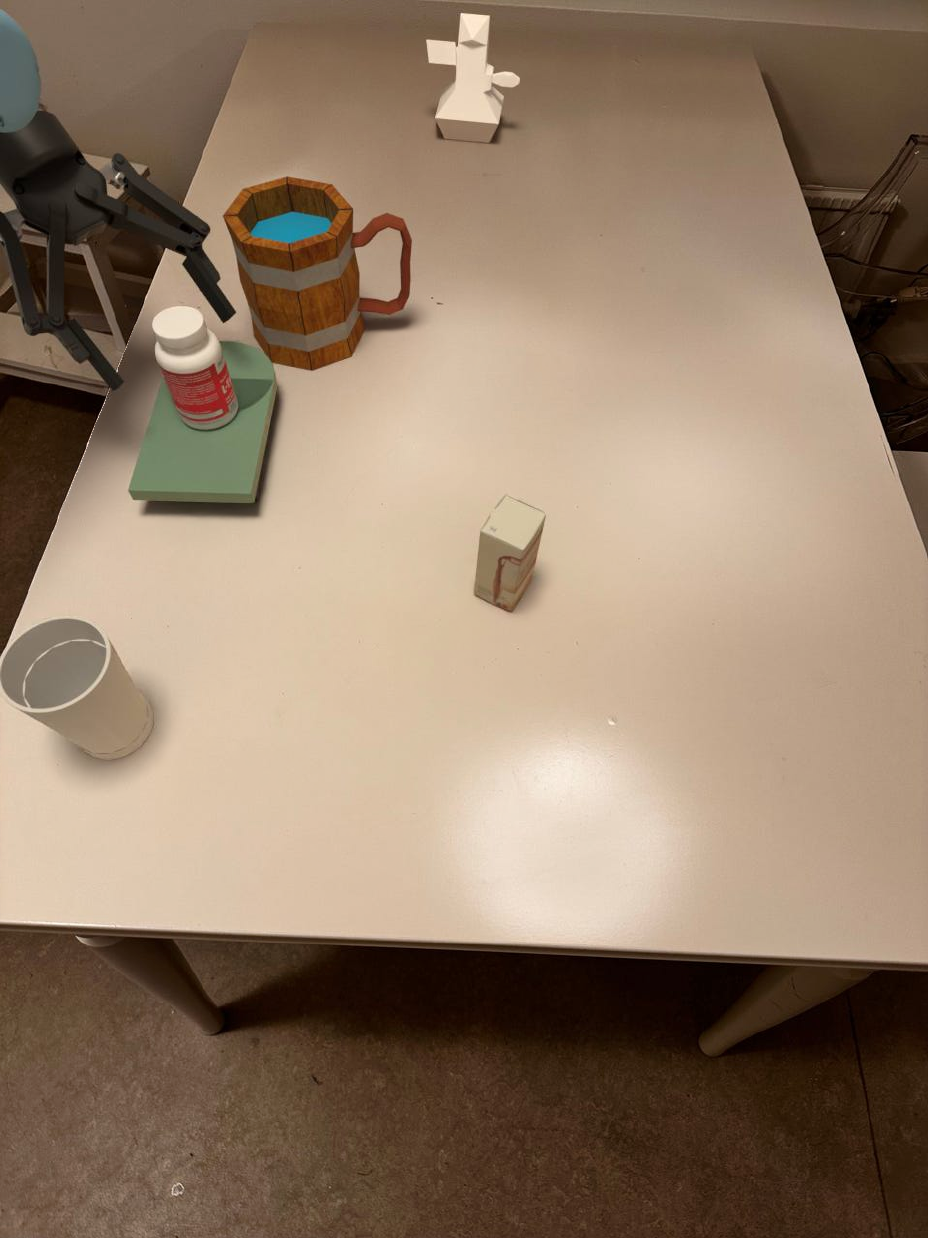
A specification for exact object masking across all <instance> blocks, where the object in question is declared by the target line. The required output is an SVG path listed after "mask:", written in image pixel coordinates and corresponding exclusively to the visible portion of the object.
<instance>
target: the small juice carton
mask: <svg viewBox="0 0 928 1238" xmlns="http://www.w3.org/2000/svg"><path fill="white" fill-rule="evenodd" d="M546 518H547V512H546V511H544V510H543V509H540V508H539V507H536V506H535V505H532V504H530V503H528V502H526V501H523V500H522V499H520V498H517V497H515V496H513V495H511V494H508V493H504V494H503V496H502V497H501V499H499V501H498V502H497V504H496V505H495V506H494V508H493V510H492V511H491V512H490V513H489V515H488V517H487V518H486V520H485V522H484V523H483V525H482V527H481V528H480V530H479V539H478V549H477V559H476V560H477V561H476V568H475V576H474V577H475V579H474V586H473V587H474V588H473V589H474V590H473V594H474V595H475V596H477V597H479V598H481V599H483V600H485V601H487V602H489V603H490V604H492V605H495V606H496V607H498V608H501V609H503V610H505V611H508V612H512V611H514V609H515V608H516V606H517V605H518V603H519V601H520V600H521V598H522V597H523V595H524V593H525V592H526V589H527V588H528V586H529V585H530V583H531V581H532V579H533V577H534V576H533V575H534V572H535V568H536V567H535V566H536V563H537V558H538V553H539V548H540V545H541V542H542V541H541V540H542V536H543V530H544V527H545V522H546Z"/></svg>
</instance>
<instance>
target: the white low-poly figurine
mask: <svg viewBox="0 0 928 1238" xmlns="http://www.w3.org/2000/svg"><path fill="white" fill-rule="evenodd" d="M490 21H491V15H487V14H486V15H484V14H474V13H463V12H461V13H460V17H459V28H458V29H459V30H458V41H457V45H456V41H447V40H438V39H426V50H427V56H428V63H429V64H437V65H449V66H455V71H456V73H455V80H454V81H452V82H451V83H450V84H449V85H448V86H446V87H445V88H444V89H443V90H442V91H441V94H440V98H439V101H438V106H437V109H436V112H435V116H434V119H435V121H436V124H437V125H438V128H439V130H440V133H441V134H442V136H443V139H445V140H452V141H453V140H454V141H462V142H463V141H464V142H473V143H486V144H490V143H491V141H492V139H493V136H494V134H495V132H496V130H497V128H498V126H499V124H500V119H501V115H502V110H503V109H502V108H503V105H504V98H505V95H503V94H502V93H501V92H500V91H498V89H496V88H495V87H494V86H493V84H494V85H497V86H499V87H503V88H504V87H505V88H515V87H516V86H518V85H520V81H521V80H520V79H521V78H520V77H519V76H518V75H517V74H515V73H514V72H512V71H500V72H496V73H494V71H495V70H494V69H495V68H494V66H493V65H491V64H490V63H488V60H489V58H488V57H489V49H490V48H489V47H490V36H491V35H490V32H491V31H490V30H491V25H490V24H491V22H490Z"/></svg>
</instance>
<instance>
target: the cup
mask: <svg viewBox="0 0 928 1238" xmlns="http://www.w3.org/2000/svg"><path fill="white" fill-rule="evenodd" d="M0 696H1V697H2V698H3V700H4V701H5V702H6V703H7V704H8V705H10V706H12V707H13V708H15V709H16V710H18V711H20V712H21V713H23V714H25V715H27V716H29V717H30V718H32V719H34V720H35V721H37V722H39V723H41V724H43V725H44V726H46V727H47V728H49V729H51V730H52V731H54V732H56V733H57V734H59V736H62V737H63V738H65V739H66V740H68V741H70V742H71V743H73V744H74V745H76V746H78V747H79V748H81V749H82V750H83V751H84V752H85V753H86V754H88V755H89V756H91V757H93V758H95V759H99V760H103V761H104V760H105V761H110V760H111V761H112V760H118V759H121V758H125V757H126V756H129V755H131V754H132V753H134V752H135V751H137V750H138V749H139V748H140V747H141V746H142V745H143V744H144V743H145V742H146V741H147V739H148V738H149V736H150V734H151V732H152V729H153V726H154V718H155V717H154V710H153V707H152V705H151V704H150V702H149V701H148V700H147V699H146V697H144V695H143V694H142V693H141V691H140V690H139V687H138V686H137V685H136V683H135V682H134V680H133V678H132V677H131V675H130V673H129V672H128V670H127V669H126V667H125V665H124V664H123V661H122V660H121V658H120V655H119V653H118V652H117V650H116V648H115V647H114V645H113V643H112V641H111V640H110V637H109V636H108V634H107V633H106V631H105V630H104V629H103V628H102V626H100V625H99V624H98V623H96V622H95V621H94V620H91V619H90V618H87V617H84V616H79V615H71V614H64V615H55V616H51V617H47V618H44V619H40V620H39V621H37V622H34V623H32V624H31V625H29V626H27V627H25V628H24V629H22V630H21V631H20V632H19V633H17V634H16V635H15V636H14V637H13V638H12V639H11V641H10V642H9V643H8V644H7V646H5V648H4V649H3V651H2V653H1V654H0Z"/></svg>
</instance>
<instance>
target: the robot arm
mask: <svg viewBox="0 0 928 1238" xmlns="http://www.w3.org/2000/svg"><path fill="white" fill-rule="evenodd" d="M48 107H49V106H48V102H47V101H46V100H45V98H44V97H43V96H42V78H41V75H40V68H39V65H38V58H37V56H36V53H35V50H34V48H33V45H32V43H31V41H30V39H29V37H28V36H27V35H26V33H25V31H24V30H23V28H22V27H21V26H20V24H18V22H17V21H16V20H15V19H14V18H13V17H12V16H10V15H9V14H8V13H7V12H6V11H5V10H3V9H1V8H0V186H1V187H2V188H3V190H4V192H6V194H7V196H9V198H10V199H11V200H12V201H13V204H14V205H15V207H16V208H15V209H12V210H8V211H5V212H3V211H1V210H0V247H1V249H2V250H3V254H4V258H5V261H6V265H7V270H8V273H9V277H10V280H11V285H12V288H13V289H12V290H13V292H14V296H15V300H16V303H17V308H18V312H19V315H20V319H21V324H22V327H23V331H24V333H25V334H27V335H28V336H30V337H35V336H37V335H40V334H50V335H52V336H54V337H55V338H56V339H57V341H58V342H59V343H60V344H61V345H62V347H63V348H64V349H65V350H66V352H67V353H68V354H69V355H70V356H71V358H72V359H73V360H74V361H75V362H76V363H78V364H79V365H82V364H83V363H84V362H86V361H88V363H89V364H90V365H91V366H92V368H93V369H94V370H95V371H96V372H97V374H98V375H99V376H100V378H101V379H102V380H103V381H104V383H105V384H106V385H107V386H108V387H109V389H110V390H111V391H112V392H113V393H114V392H116V391H117V390H119V389H120V388H121V387H122V385H123V384H124V383H125V381H124V379H123V378H122V377H121V376H120V374H119V373H118V372H117V371H116V369H115V368H114V367H113V365H112V364H111V363H110V361H108V358H106V356H105V355H104V353H103V352H102V351H101V350H100V349H99V347H98V346H97V345H96V344H95V343H94V341H93V340H92V338H91V337H90V336H89V335H88V333H87V332H86V331H85V330H84V328H83V327H82V326H81V325H80V323H79V322H78V321H77V319H76V318H72V319H71V320H69V321H67V322H66V321H65V249H66V245H73V246H74V247H76V246H78V245H80V244H82V243H83V242H84V241H85V240H86V239H87V238H88V237H93V236H94V237H95V236H98V235H99V234H101V233H103V232H104V230H105V229H106V227H107V226H108V227H110V228H112V229H114V230H118V231H119V230H122V231H125V232H127V233H129V234H132V235H134V236H137V237H138V238H141V239H143V240H145V241H148V242H150V243H152V244H154V245H155V244H156V245H158V246H160V247H162V248H165V249H167V250H169V251H172V252H174V253H177V254H179V255H181V256H184V257H185V259H184V260H183V262H182V263H181V265H182V266H183V268H184V270H185V271H186V272H187V274H188V275H189V277H190V278H191V280H192V281H193V282H194V284H195V286H196V287H197V288H198V289H199V292H201V294H202V295H203V297H204V298H205V299H206V301H207V302H208V304H209V305H210V307H211V308H212V309H213V311H214V313H215V314H216V315H217V317H218V318H219V319H220V321H221V323H222V324H225V323H227V322H228V321H230V320H231V319H232V318H233V317H234V316H235V315H236V314H237V311H236V309H235V308H234V306H233V305H232V303H231V302H230V301H229V299H228V297H227V296H226V295H225V293H224V292H223V290H222V289H221V287H220V286H219V284H218V283H219V282H220V281H221V275H220V272H219V271H218V269H217V267H215V265H214V263H213V262H212V261H211V259H210V257H209V256H208V255H207V253H206V252H205V250H204V247H203V243H204V241H205V240H206V239H207V237H208V236H209V235H210V233H211V227H210V225H209V224H208V223H207V222H206V221H204V220H203V219H202V218H200V216H198V215H196V214H195V213H193V212H192V211H191V210H190V209H188V208H187V207H185V206H184V205H182V203H179V202H178V201H177V200H175V199H174V198H173V197H171V196H170V195H168V194H167V193H166V192H164V191H163V190H161V189H160V188H159V187H157V186H156V185H155V184H154V183H152V182H151V181H149V180H147V178H145V177H144V176H143V175H141V174H139V172H137V170H136V169H135V168H134V167H133V165H132V164H131V163H130V161H129V160H128V159H127V158H126V157H125V156H124V155H123V154H121V153H119V152H115V153H113V155H112V158H111V159H110V162H108V163H106V164H105V165H104V166H102V167H101V168H100V169H97V168H95V167H94V166H92V165H91V164H90V163H89V162H88V160H87V159H86V157H85V156H84V154H83V153H82V151H81V150H80V148H79V147H78V145H77V144H76V142H75V141H74V140H73V138H72V137H71V135H70V134H69V133H68V132H67V130H66V129H65V127H64V125H63V124H62V122H61V121H60V119H58V117H57V116H56V114H53V113H51V112H50V111H48V109H49V108H48ZM108 185H111V186H113V187H114V188H115V189H116V190H122V191H124V192H125V193H126V194H127V195H128V196H129V197H131V198H132V199H133V200H134V201H136V202H138V203H139V204H140V205H142V206H143V207H145V208H146V209H147V210H149V211H150V212H152V213H153V214H155V216H157V217H159V218H160V219H162V220H163V221H165V222H166V223H165V222H163V221H161V220H159V219H156V218H154V217H152V216H150V215H148V214H146V213H143V212H141V211H139V210H137V209H134V208H132V207H129V206H128V204H127V203H126V202H124V201H122V200H119V199H118V198H115V197H113V196H110V195H109V194H108ZM24 225H25V226H26V227H28V228H30V229H32V230H35V231H37V232H39V233H41V234H44V235H45V236H46V313H45V314H40V312H39V309H38V304H37V301H36V297H35V293H34V290H33V285H32V281H31V278H30V274H29V273H30V272H29V269H28V266H27V261H26V259H25V255H24V251H23V247H22V243H21V239H22V237H23V228H22V226H24Z"/></svg>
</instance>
